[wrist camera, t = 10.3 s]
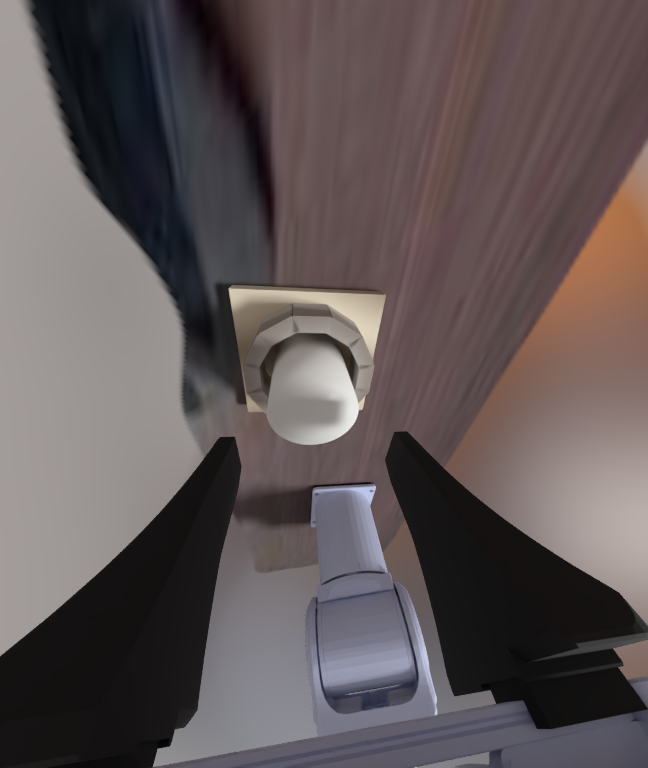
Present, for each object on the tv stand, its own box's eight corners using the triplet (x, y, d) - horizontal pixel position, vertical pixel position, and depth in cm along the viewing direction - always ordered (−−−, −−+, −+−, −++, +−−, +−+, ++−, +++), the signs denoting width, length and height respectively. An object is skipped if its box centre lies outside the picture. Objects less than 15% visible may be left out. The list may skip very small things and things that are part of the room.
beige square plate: (359, 402, 22) (369, 430, 19) (250, 404, 21) (242, 433, 18) (381, 291, 16) (399, 305, 13) (232, 284, 15) (217, 299, 12)
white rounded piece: (338, 387, 19) (352, 443, 14) (276, 387, 19) (269, 446, 14) (344, 329, 16) (365, 374, 12) (272, 328, 16) (262, 374, 11)
